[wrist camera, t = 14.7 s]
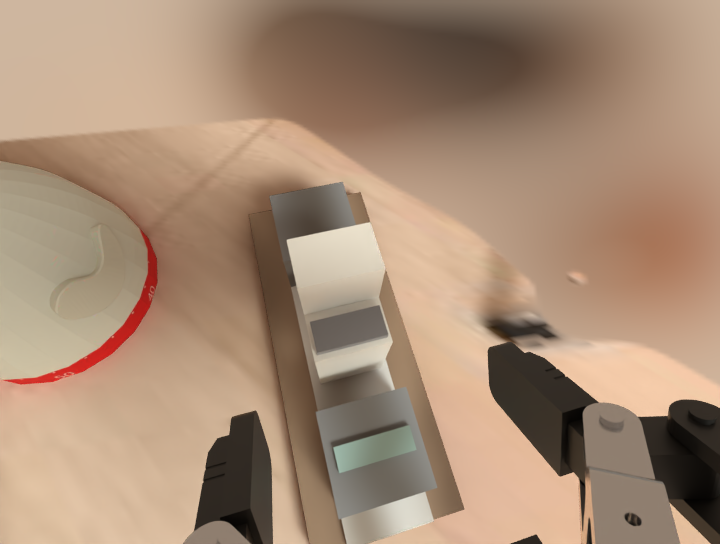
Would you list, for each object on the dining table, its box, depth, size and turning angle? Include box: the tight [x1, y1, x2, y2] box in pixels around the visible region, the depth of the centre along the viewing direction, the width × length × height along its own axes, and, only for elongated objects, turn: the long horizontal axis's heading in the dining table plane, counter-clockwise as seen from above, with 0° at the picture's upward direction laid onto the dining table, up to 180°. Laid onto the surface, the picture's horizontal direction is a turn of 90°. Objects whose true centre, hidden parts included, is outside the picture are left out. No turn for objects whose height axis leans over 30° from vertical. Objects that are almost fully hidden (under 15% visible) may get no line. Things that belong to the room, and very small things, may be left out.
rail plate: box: [249, 182, 464, 544], centre depth 26 cm, size 9×23×6 cm, turn 15°
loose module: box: [287, 222, 393, 384], centre depth 22 cm, size 4×5×10 cm
